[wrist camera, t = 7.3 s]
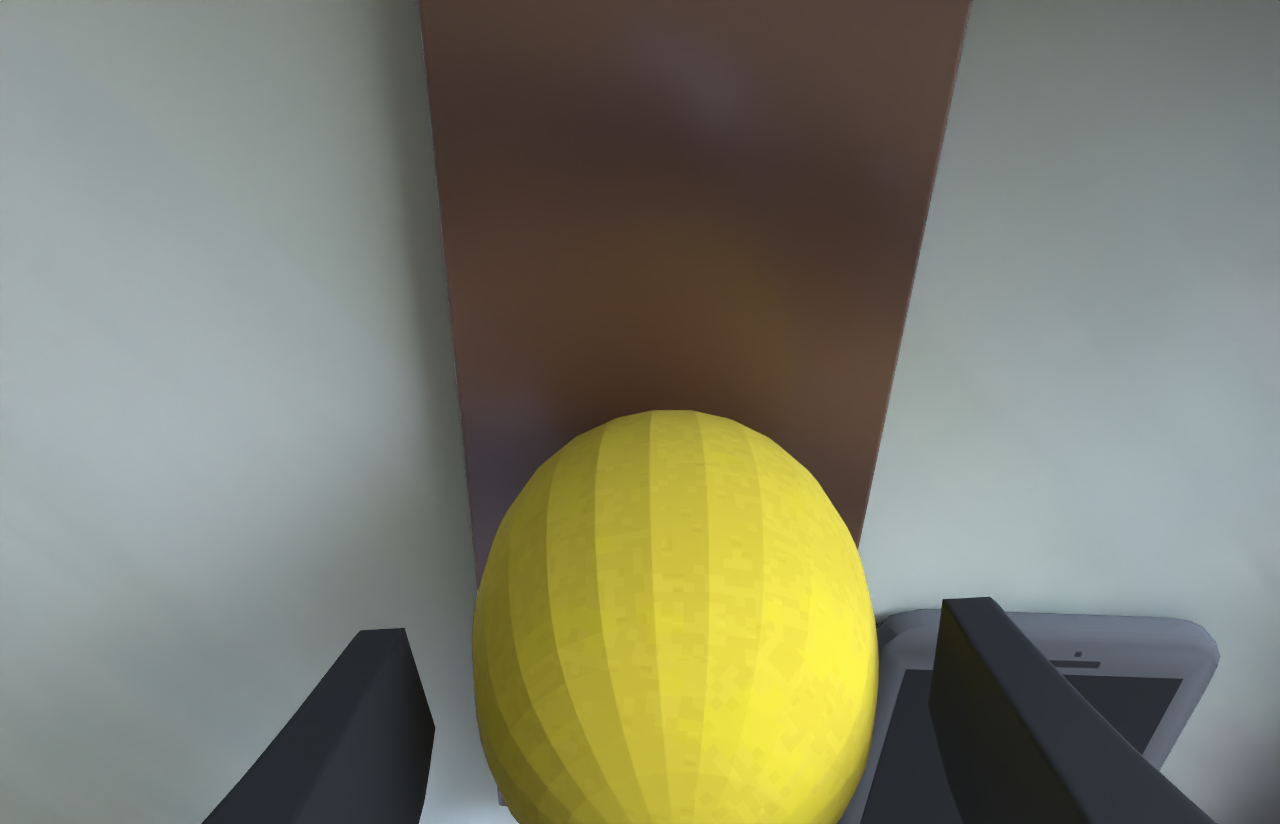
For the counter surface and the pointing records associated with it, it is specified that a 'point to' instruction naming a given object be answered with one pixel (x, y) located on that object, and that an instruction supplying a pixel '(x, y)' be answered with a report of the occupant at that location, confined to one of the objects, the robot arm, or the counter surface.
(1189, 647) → the cell phone
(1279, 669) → the counter surface
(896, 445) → the counter surface
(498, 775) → the lemon
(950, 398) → the counter surface
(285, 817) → the robot arm
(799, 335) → the back board
